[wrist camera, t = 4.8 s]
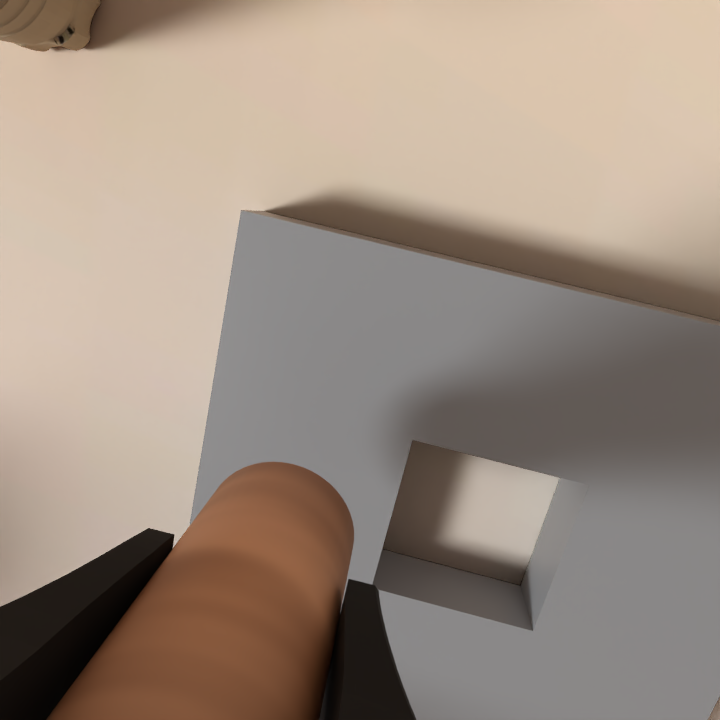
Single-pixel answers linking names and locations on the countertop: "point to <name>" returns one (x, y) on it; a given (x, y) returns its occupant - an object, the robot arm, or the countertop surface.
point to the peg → (231, 611)
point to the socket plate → (498, 443)
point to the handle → (47, 23)
